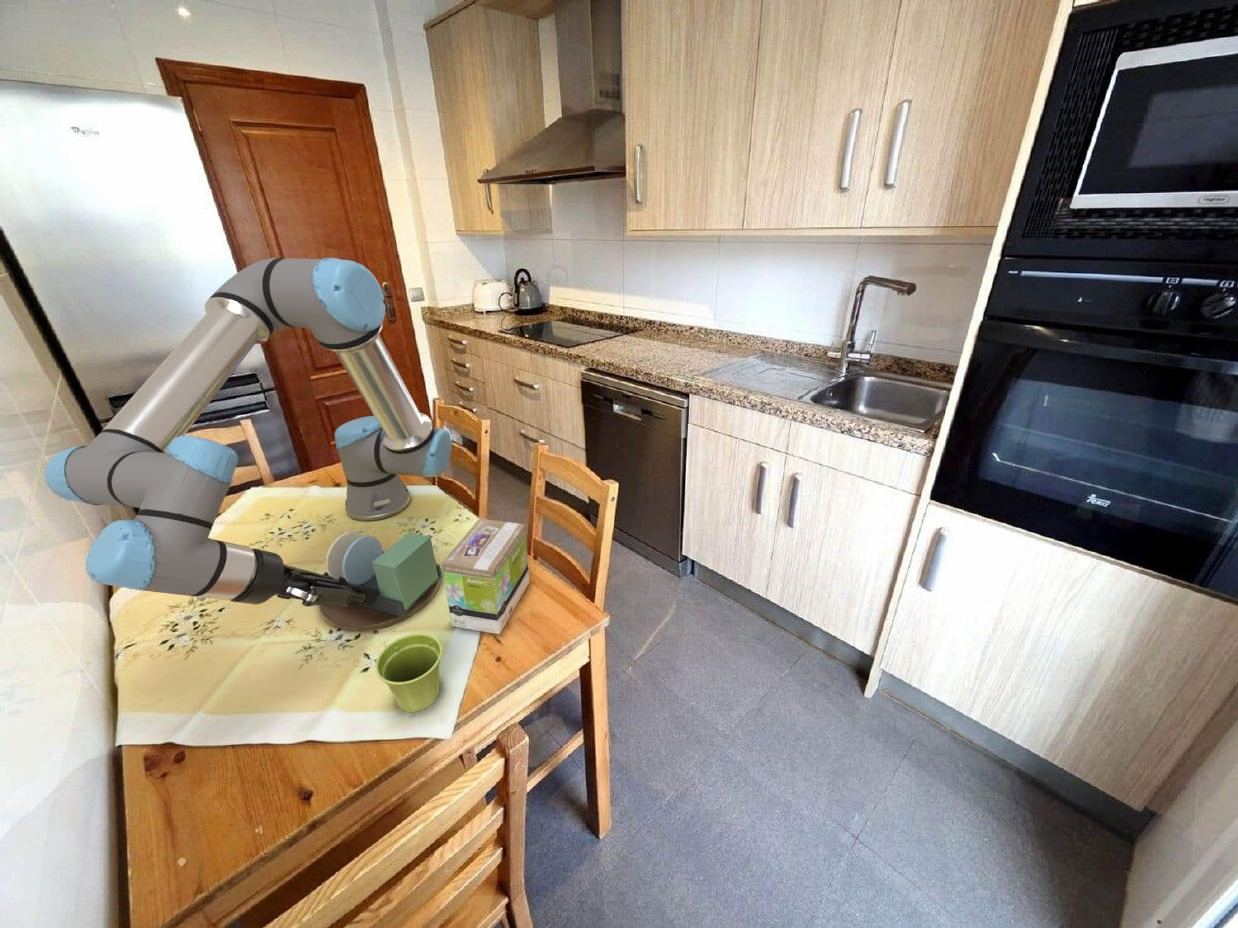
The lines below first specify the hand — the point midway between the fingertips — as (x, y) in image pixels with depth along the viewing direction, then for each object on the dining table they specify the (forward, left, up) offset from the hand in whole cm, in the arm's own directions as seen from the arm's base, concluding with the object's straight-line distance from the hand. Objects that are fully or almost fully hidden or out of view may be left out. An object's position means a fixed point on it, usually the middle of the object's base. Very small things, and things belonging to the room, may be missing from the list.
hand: (374, 597), depth 90 cm
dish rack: (-7, -6, -5) cm, 11 cm away
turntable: (-7, -6, -6) cm, 11 cm away
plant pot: (+11, +17, -6) cm, 21 cm away
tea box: (-11, +17, -6) cm, 21 cm away
